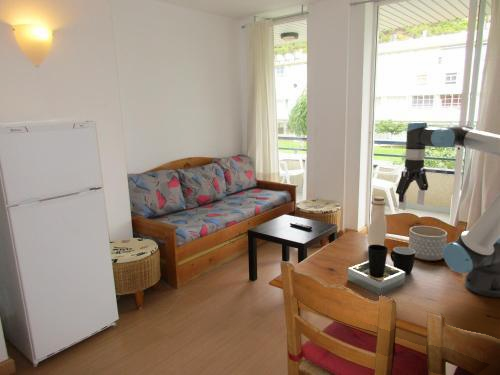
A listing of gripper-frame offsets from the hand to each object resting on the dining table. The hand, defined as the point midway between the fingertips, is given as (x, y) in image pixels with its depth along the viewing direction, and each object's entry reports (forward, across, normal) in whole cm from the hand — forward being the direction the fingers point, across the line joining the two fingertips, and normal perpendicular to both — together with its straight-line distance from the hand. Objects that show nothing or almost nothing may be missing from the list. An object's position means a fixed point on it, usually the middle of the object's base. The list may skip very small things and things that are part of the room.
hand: (411, 206), depth 161 cm
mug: (+29, +5, 0) cm, 29 cm away
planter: (+29, -20, -3) cm, 35 cm away
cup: (+26, +23, +1) cm, 34 cm away
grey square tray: (+29, +23, +1) cm, 37 cm away
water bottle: (+29, -6, -22) cm, 37 cm away
